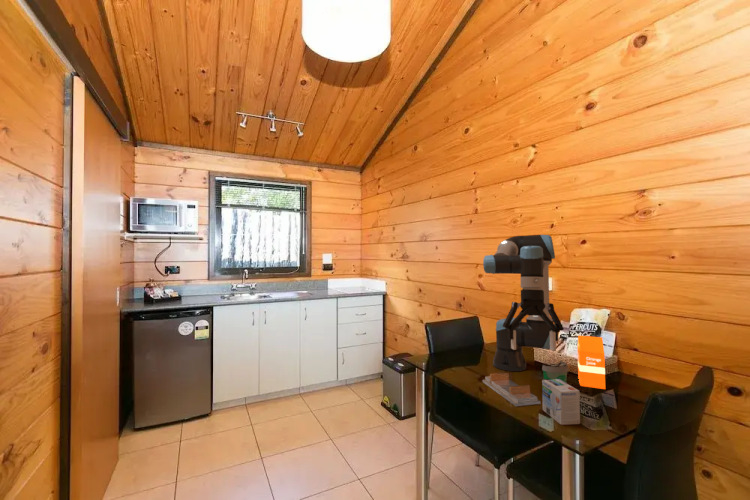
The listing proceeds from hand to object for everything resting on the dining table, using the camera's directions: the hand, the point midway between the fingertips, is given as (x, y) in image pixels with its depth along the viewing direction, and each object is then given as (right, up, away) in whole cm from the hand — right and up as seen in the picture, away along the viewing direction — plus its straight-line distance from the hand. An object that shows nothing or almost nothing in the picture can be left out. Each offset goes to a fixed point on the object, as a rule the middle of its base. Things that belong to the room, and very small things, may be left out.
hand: (533, 349), depth 117 cm
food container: (+19, -22, +18) cm, 34 cm away
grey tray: (-2, -22, +16) cm, 27 cm away
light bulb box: (+7, -21, -5) cm, 23 cm away
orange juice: (+35, -22, +23) cm, 47 cm away
